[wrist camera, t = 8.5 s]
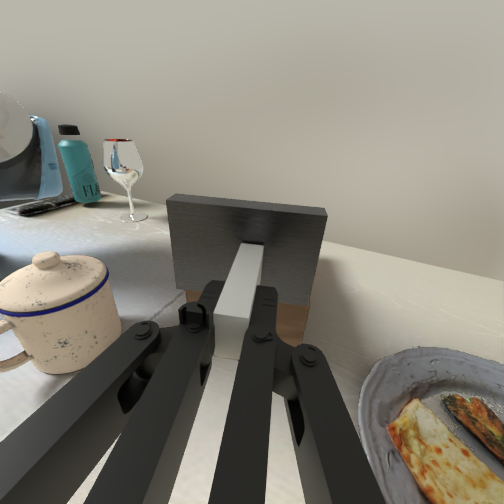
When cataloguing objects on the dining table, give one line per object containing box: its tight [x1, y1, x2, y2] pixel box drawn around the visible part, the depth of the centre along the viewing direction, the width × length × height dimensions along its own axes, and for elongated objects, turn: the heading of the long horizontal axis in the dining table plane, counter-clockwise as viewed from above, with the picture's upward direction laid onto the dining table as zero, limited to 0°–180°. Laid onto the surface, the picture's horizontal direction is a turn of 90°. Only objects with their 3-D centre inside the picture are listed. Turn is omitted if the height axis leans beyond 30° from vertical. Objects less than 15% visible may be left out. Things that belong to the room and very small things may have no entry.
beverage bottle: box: [58, 125, 101, 203], centre depth 63 cm, size 6×7×20 cm
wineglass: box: [103, 139, 147, 222], centre depth 57 cm, size 8×8×18 cm
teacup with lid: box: [0, 251, 122, 374], centre depth 24 cm, size 12×9×12 cm
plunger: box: [166, 194, 328, 306], centre depth 21 cm, size 10×10×9 cm
